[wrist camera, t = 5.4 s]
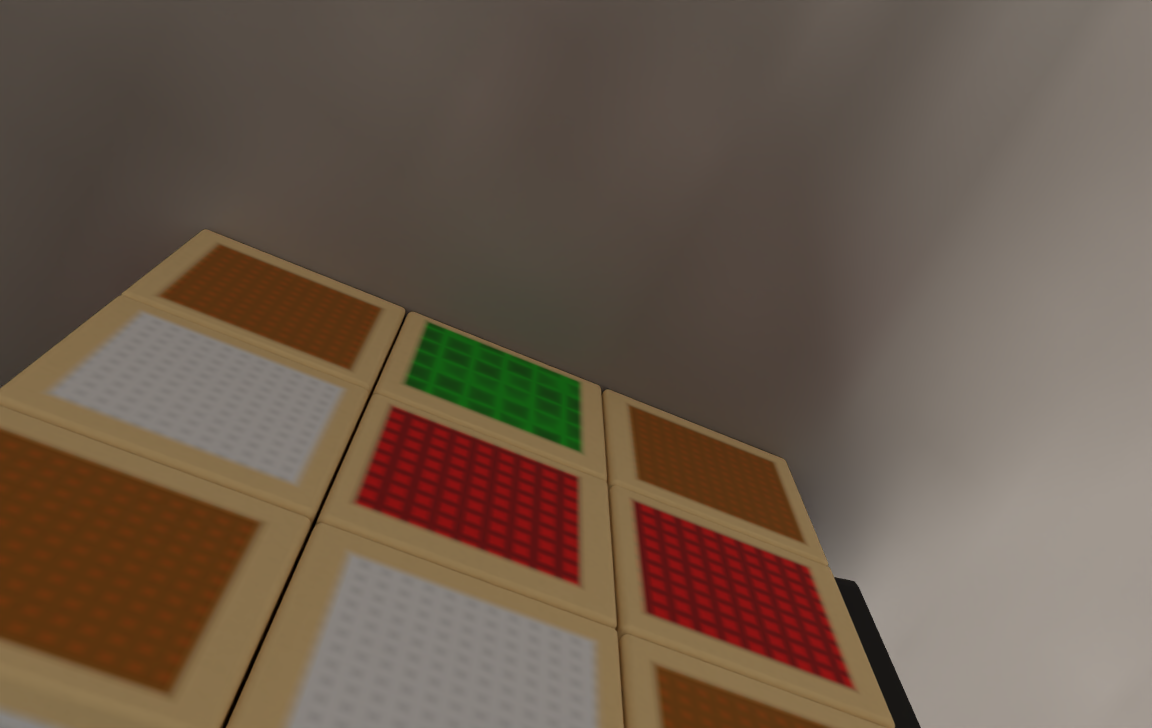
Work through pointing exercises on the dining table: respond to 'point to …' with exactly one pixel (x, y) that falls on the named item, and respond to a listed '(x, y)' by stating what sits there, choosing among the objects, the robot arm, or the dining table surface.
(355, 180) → the dining table surface
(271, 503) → the rubik's cube
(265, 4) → the dining table surface
